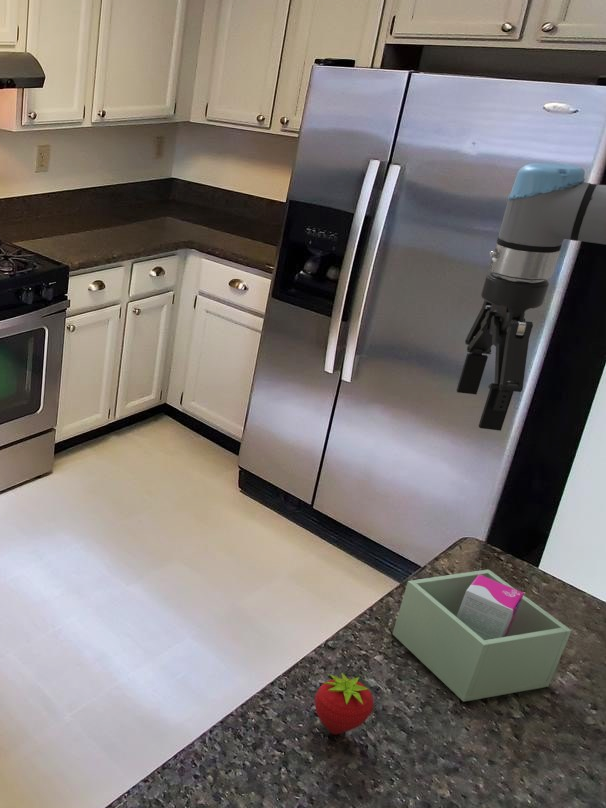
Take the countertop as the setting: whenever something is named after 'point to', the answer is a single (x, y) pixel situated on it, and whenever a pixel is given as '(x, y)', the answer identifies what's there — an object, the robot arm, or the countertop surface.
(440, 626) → the trash bin
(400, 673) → the countertop surface
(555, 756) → the countertop surface
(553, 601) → the countertop surface
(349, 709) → the strawberry
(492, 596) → the supplement box
